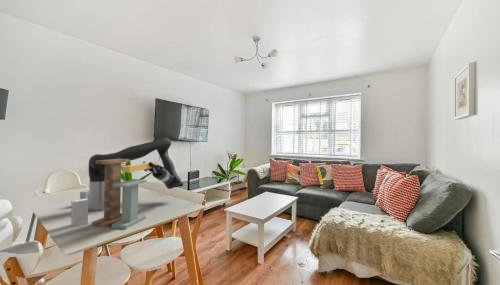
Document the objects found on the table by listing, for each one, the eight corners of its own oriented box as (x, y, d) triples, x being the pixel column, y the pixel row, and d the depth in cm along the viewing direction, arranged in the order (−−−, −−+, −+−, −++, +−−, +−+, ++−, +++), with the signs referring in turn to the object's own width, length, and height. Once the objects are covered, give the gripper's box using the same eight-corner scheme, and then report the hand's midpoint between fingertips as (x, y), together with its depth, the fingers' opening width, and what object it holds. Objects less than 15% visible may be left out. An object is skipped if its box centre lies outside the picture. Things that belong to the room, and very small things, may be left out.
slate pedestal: (111, 227, 99) (112, 184, 99) (132, 217, 112) (133, 179, 112) (126, 229, 97) (127, 185, 97) (145, 218, 111) (146, 179, 111)
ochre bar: (123, 172, 102) (123, 166, 102) (151, 166, 124) (151, 161, 124) (129, 172, 101) (129, 166, 101) (156, 167, 123) (156, 162, 123)
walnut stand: (91, 225, 101) (92, 160, 101) (114, 215, 114) (115, 158, 114) (108, 227, 99) (110, 161, 99) (130, 216, 113) (131, 159, 113)
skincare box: (86, 221, 106) (86, 197, 106) (88, 223, 103) (88, 199, 103) (70, 224, 101) (70, 200, 101) (72, 227, 98) (72, 202, 98)
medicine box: (85, 206, 129) (85, 192, 129) (79, 205, 130) (79, 192, 130) (96, 202, 137) (97, 189, 137) (91, 202, 138) (91, 189, 138)
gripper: (153, 168, 134) (137, 157, 119) (173, 169, 132) (159, 157, 117) (149, 179, 131) (132, 168, 116) (169, 180, 128) (155, 169, 113)
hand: (146, 163), depth 117 cm, fingers closed on ochre bar, 3 cm apart
